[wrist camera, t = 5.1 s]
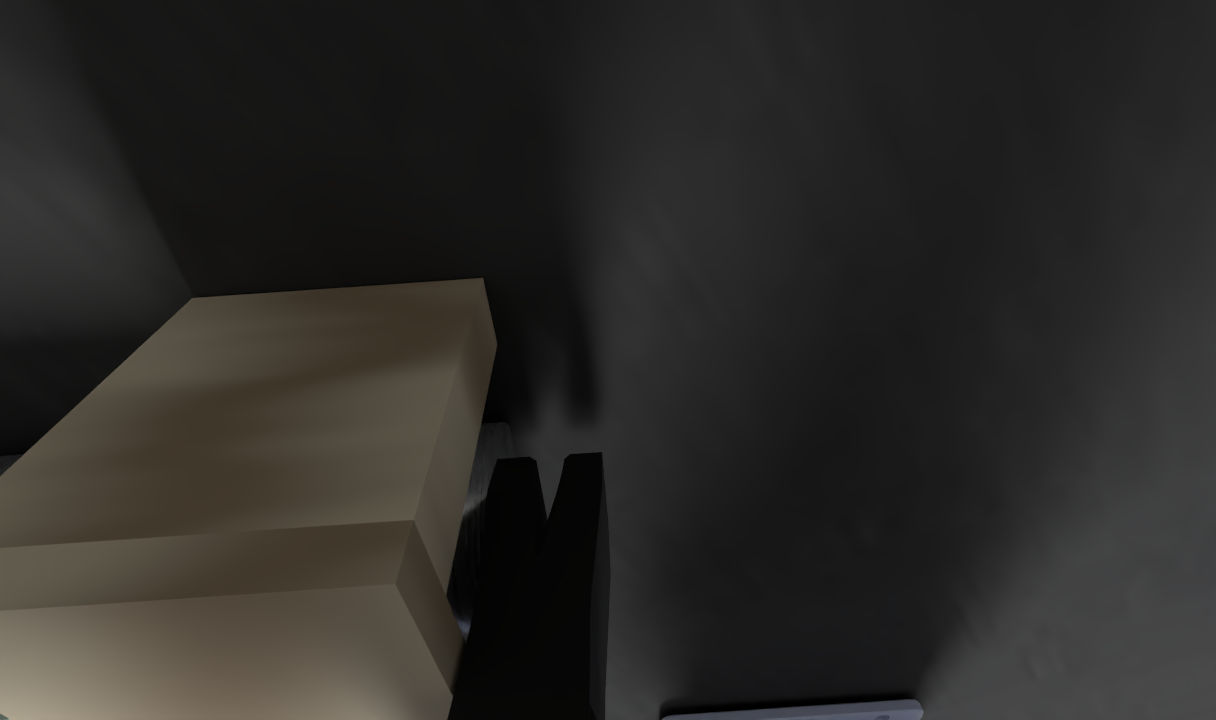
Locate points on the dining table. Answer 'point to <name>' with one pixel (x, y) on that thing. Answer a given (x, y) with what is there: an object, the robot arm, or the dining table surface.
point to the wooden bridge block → (253, 515)
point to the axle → (467, 553)
